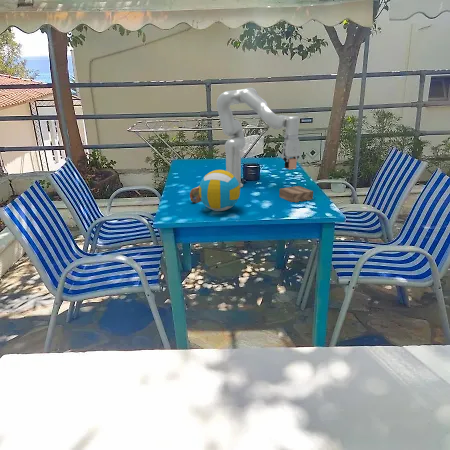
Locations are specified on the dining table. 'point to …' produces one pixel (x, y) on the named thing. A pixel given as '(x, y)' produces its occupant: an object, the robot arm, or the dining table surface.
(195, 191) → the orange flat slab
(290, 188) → the walnut block
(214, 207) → the volleyball
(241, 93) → the robot arm
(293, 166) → the terracotta block
